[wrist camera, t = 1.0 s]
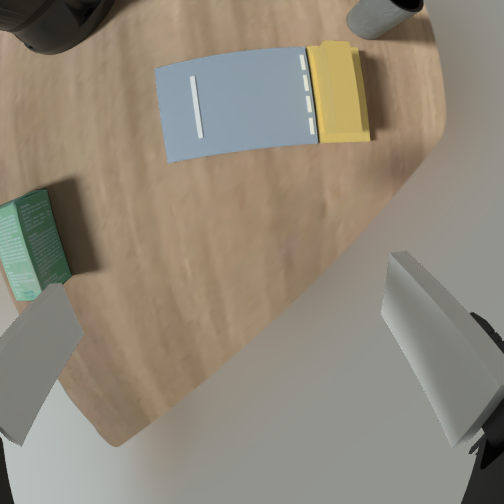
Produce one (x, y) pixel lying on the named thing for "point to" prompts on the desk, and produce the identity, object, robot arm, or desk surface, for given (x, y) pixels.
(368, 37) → the gray cylinder
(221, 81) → the ticket
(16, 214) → the box
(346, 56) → the yellow stepped block
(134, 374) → the desk surface
